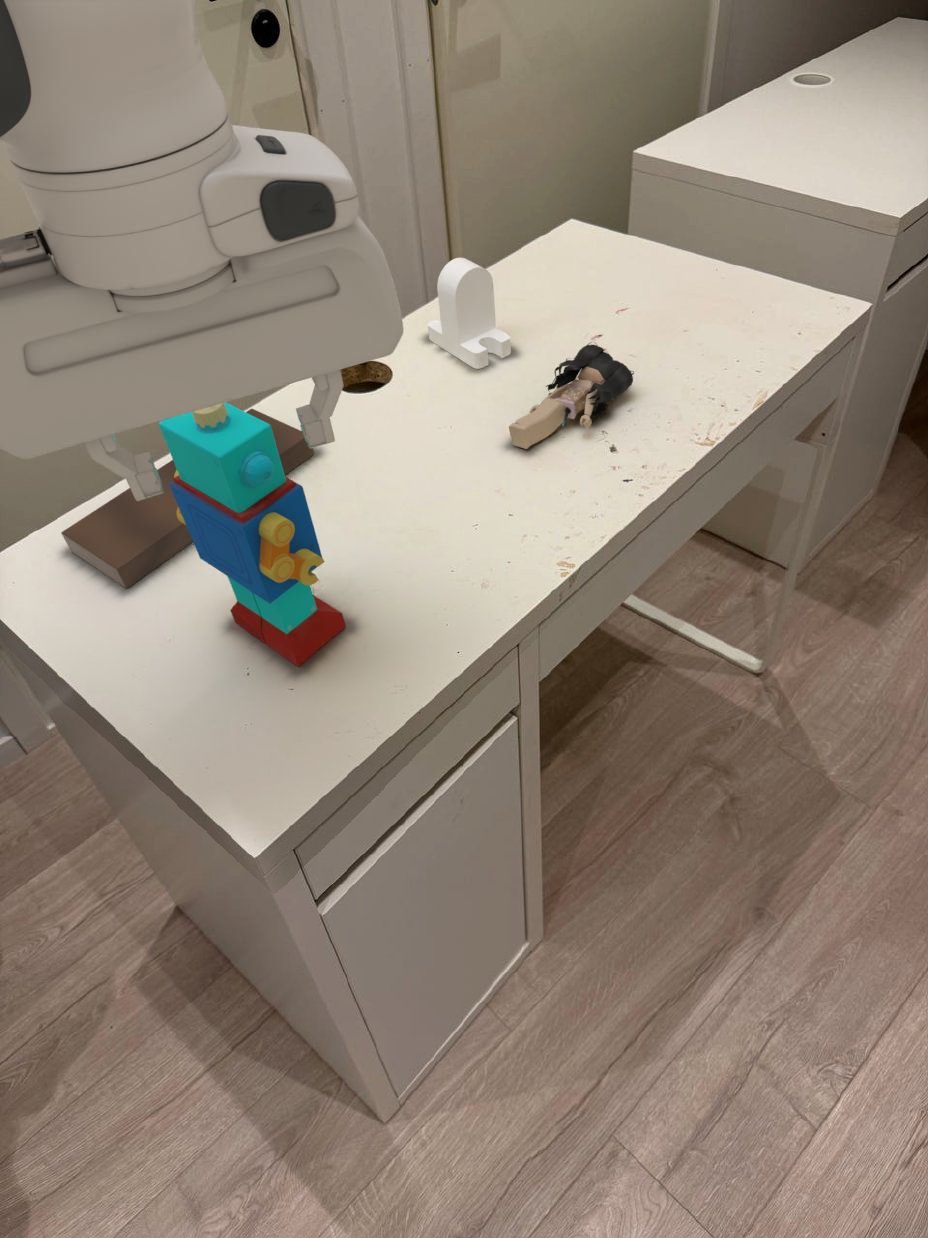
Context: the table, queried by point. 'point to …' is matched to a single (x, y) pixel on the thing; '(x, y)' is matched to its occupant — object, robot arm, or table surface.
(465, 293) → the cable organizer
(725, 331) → the table surface
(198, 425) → the toy robot
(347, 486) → the table surface
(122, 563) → the brown slab
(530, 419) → the toy figure
